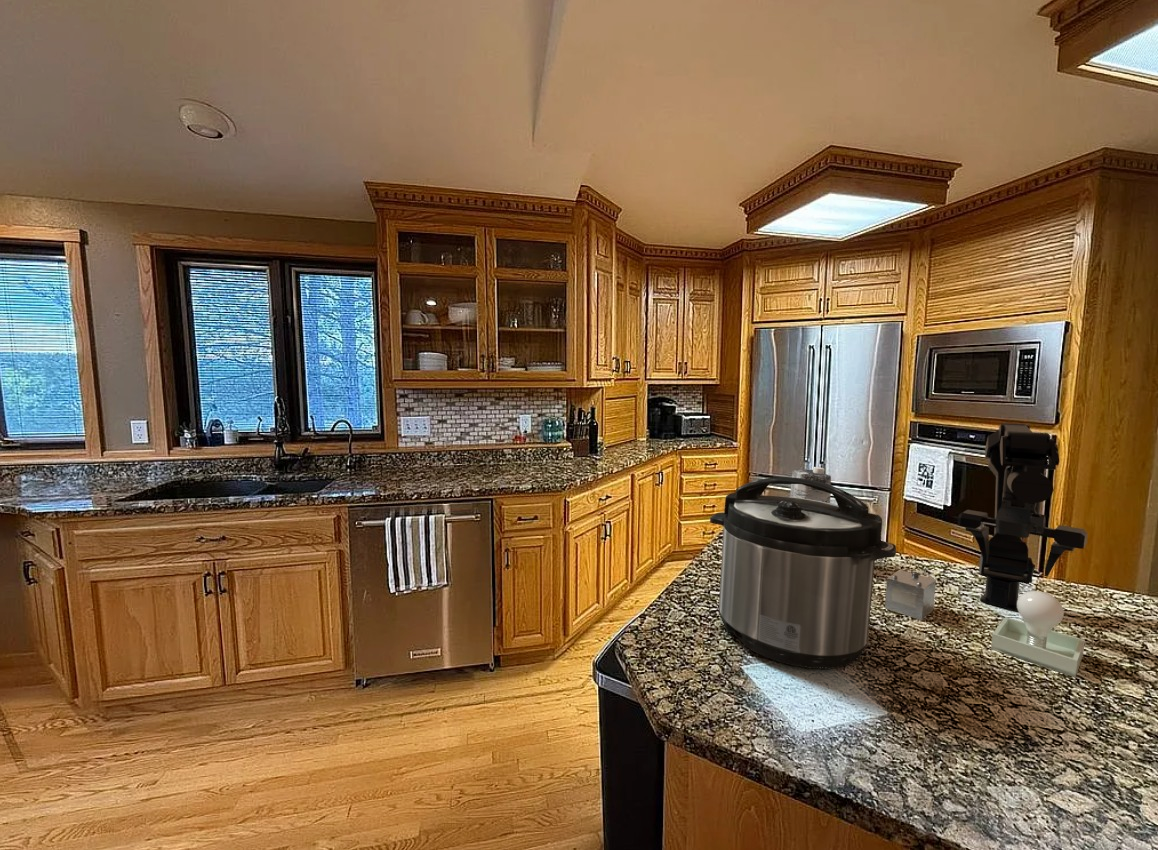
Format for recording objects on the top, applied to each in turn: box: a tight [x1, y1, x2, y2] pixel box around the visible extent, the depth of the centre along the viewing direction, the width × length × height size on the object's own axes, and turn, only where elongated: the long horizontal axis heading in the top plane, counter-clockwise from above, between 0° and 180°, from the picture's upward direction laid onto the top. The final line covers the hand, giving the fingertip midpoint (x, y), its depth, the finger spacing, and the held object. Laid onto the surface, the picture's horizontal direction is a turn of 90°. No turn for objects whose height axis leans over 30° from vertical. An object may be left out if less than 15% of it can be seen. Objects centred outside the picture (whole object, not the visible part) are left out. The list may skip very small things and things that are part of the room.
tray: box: [990, 616, 1086, 678], centre depth 89 cm, size 11×11×3 cm
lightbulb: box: [1017, 590, 1065, 649], centre depth 89 cm, size 6×6×11 cm
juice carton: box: [789, 466, 832, 503], centre depth 136 cm, size 9×10×27 cm
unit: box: [884, 569, 937, 621], centre depth 106 cm, size 8×7×8 cm
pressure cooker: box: [709, 476, 897, 669], centre depth 93 cm, size 30×28×32 cm
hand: (1015, 568), depth 97 cm, fingers open, 9 cm apart
